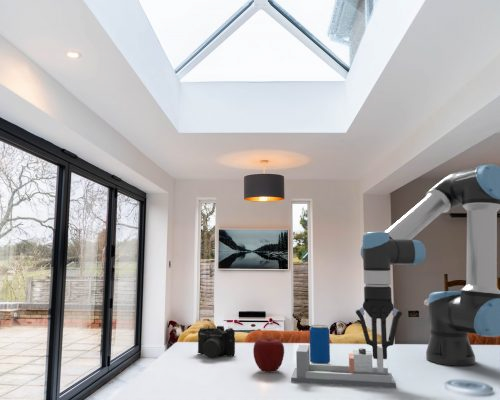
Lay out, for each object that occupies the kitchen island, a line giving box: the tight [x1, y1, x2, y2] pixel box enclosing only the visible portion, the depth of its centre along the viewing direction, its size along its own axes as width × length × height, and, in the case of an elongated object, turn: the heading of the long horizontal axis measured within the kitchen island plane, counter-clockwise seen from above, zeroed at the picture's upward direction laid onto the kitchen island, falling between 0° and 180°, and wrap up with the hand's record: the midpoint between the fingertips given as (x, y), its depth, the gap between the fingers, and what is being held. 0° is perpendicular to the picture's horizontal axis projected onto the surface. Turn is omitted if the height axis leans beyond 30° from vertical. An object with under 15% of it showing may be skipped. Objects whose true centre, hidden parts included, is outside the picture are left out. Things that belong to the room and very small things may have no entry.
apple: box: [252, 337, 285, 373], centre depth 134 cm, size 10×10×10 cm
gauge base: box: [290, 344, 397, 389], centre depth 125 cm, size 28×11×8 cm, turn 79°
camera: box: [197, 325, 236, 359], centre depth 155 cm, size 14×11×10 cm
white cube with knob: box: [352, 348, 374, 374], centre depth 124 cm, size 5×6×7 cm
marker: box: [348, 353, 354, 373], centre depth 124 cm, size 1×6×5 cm, turn 169°
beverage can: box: [309, 324, 331, 365], centre depth 144 cm, size 6×6×12 cm
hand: (380, 370), depth 123 cm, fingers closed
